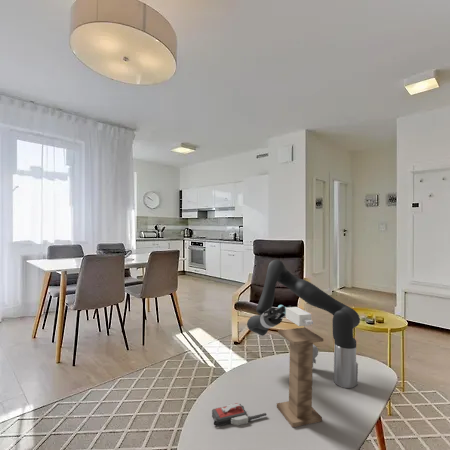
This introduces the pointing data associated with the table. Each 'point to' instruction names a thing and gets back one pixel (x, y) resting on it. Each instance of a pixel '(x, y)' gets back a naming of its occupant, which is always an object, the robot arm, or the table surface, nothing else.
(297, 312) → the white block with ball
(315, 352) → the figurine
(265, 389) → the table surface
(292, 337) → the stand
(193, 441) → the table surface
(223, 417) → the walkie-talkie
